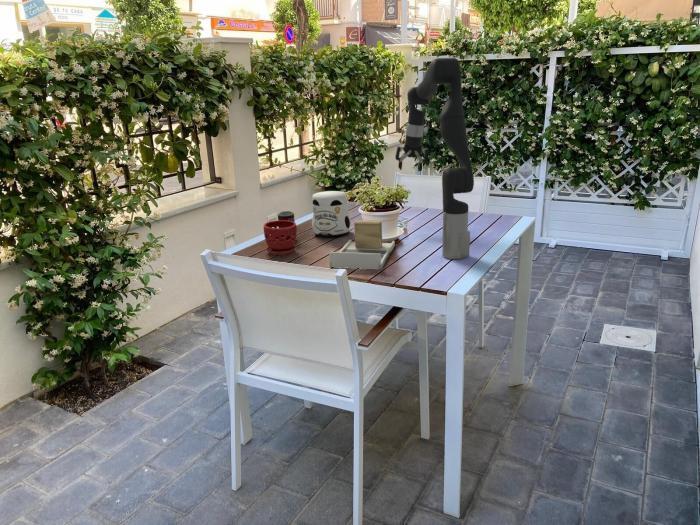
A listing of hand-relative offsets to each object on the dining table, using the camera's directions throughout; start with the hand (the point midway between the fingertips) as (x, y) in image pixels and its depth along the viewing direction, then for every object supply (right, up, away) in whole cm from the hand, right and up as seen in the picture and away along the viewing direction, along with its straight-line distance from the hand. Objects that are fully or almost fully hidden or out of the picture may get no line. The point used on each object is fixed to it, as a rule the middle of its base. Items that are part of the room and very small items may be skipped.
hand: (409, 170), depth 245 cm
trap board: (-22, -40, -37) cm, 58 cm away
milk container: (-35, -30, -4) cm, 46 cm away
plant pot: (-55, -38, -27) cm, 72 cm away
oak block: (-20, -36, -29) cm, 50 cm away
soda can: (-54, -32, -10) cm, 64 cm away
